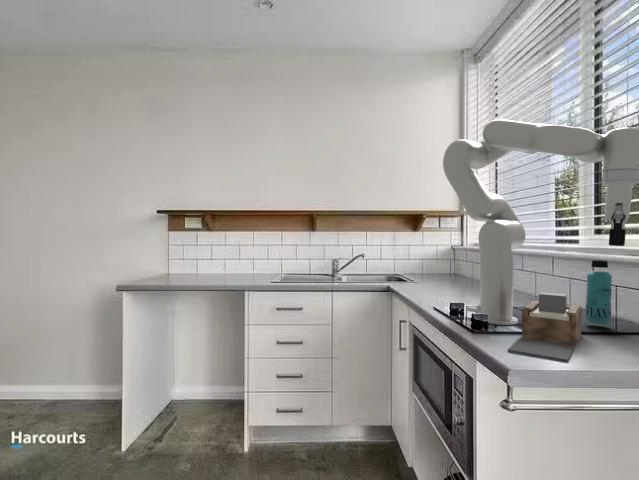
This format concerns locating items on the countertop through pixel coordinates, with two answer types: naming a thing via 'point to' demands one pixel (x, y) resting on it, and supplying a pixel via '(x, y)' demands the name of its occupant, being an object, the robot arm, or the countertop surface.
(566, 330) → the walnut box
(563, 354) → the charcoal mat
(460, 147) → the robot arm
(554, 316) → the cover plate
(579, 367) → the countertop surface
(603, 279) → the beverage bottle
